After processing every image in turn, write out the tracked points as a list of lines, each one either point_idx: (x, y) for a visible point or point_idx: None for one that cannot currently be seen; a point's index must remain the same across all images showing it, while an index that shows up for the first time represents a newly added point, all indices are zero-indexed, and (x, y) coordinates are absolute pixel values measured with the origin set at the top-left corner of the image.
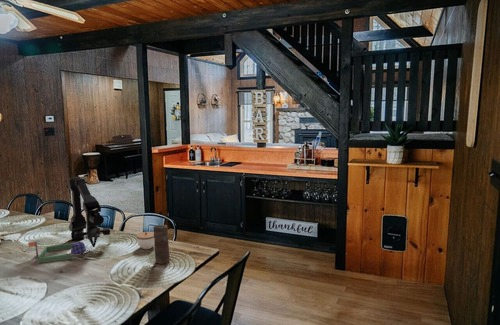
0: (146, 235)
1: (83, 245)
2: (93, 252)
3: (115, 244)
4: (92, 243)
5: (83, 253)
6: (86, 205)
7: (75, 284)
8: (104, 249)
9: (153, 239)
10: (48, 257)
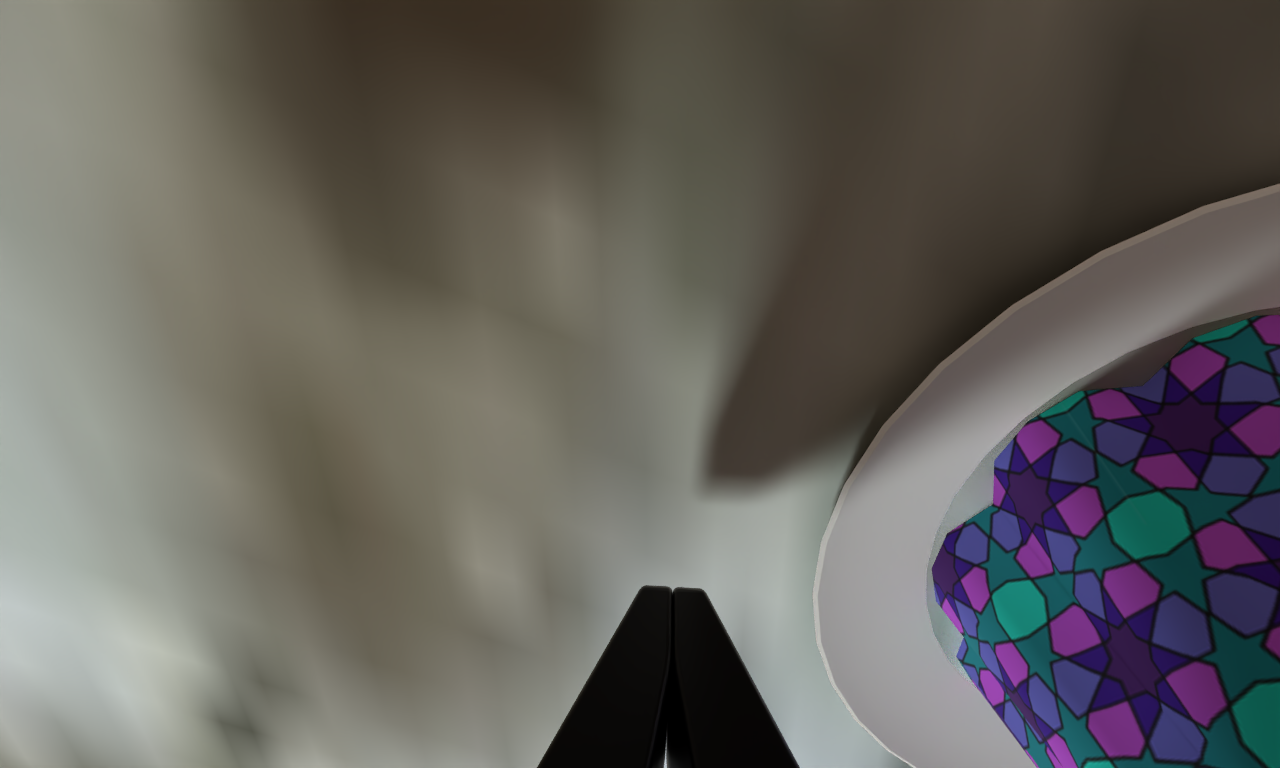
0: None
1: (1183, 746)
2: (699, 248)
3: (22, 649)
4: (726, 750)
5: (1173, 225)
6: None
7: None
8: (275, 391)
9: None
10: None
